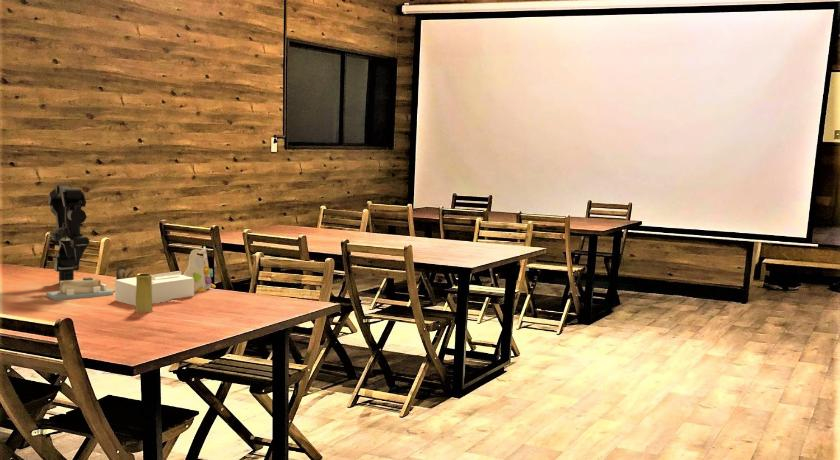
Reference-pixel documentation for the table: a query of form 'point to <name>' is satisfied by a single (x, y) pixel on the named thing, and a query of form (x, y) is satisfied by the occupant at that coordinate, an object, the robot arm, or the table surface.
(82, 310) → the table surface
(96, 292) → the jig
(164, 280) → the tissue box
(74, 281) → the beam with grey square
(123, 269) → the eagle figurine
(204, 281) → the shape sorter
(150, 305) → the vase
